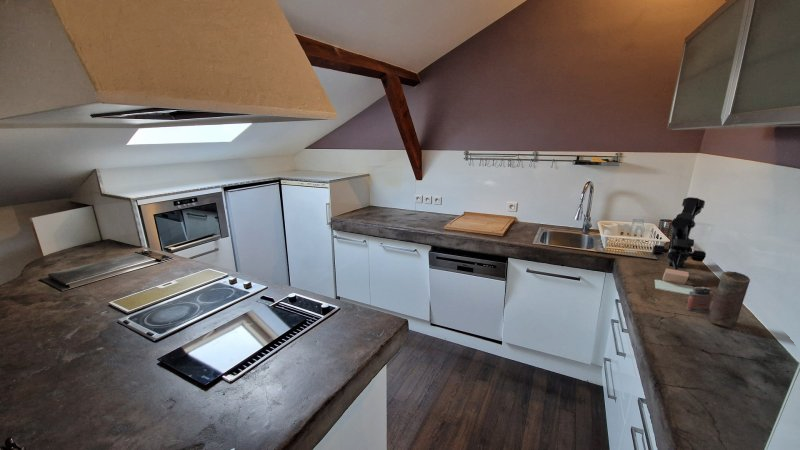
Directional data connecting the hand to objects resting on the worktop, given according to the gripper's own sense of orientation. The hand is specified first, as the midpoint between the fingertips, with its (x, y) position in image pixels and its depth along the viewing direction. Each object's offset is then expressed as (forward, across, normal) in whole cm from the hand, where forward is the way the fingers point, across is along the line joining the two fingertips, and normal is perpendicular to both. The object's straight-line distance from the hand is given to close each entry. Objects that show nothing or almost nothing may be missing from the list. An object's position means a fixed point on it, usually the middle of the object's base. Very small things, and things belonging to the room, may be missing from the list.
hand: (676, 269), depth 151 cm
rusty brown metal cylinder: (+28, +12, -17) cm, 34 cm away
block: (+4, 0, +6) cm, 7 cm away
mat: (+9, 0, +2) cm, 9 cm away
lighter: (+22, +6, -11) cm, 25 cm away
